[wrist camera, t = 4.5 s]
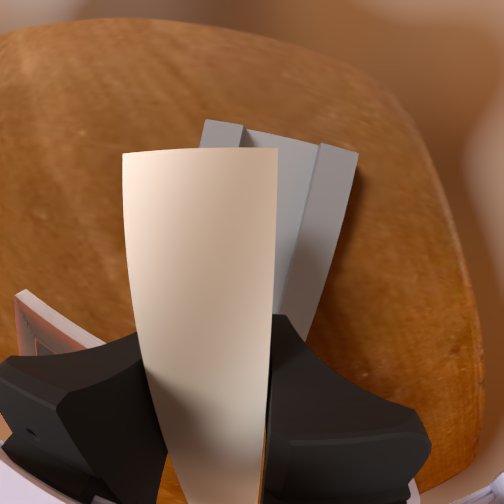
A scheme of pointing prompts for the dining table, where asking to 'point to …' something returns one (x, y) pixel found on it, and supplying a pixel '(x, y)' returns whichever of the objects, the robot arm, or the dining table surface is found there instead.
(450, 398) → the dining table surface
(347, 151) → the grooved channel
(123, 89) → the dining table surface
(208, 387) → the frame
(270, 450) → the robot arm
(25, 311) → the picture frame
